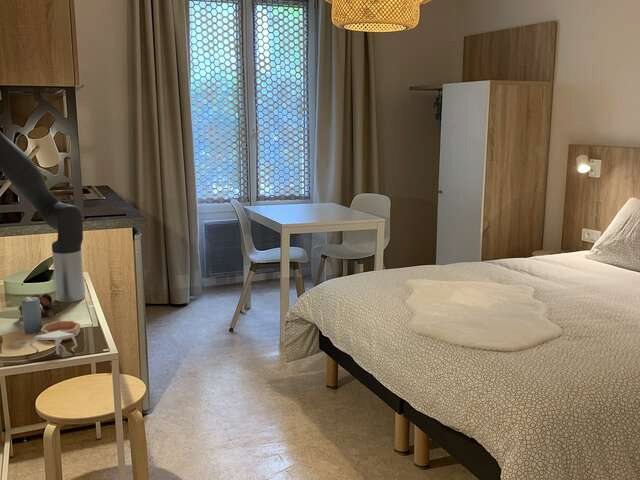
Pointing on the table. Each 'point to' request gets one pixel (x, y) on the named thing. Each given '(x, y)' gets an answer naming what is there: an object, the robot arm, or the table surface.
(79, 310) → the table surface
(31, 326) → the pebble cup
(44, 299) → the pottery mug
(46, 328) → the terracotta bowl
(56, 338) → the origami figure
